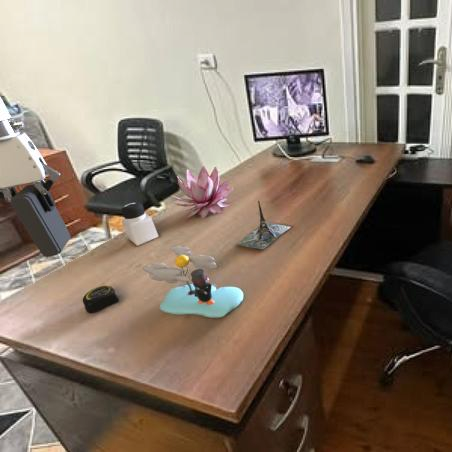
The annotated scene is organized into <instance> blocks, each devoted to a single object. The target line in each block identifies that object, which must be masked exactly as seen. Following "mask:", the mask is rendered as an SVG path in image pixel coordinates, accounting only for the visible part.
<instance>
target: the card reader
mask: <svg viewBox="0 0 452 452" xmlns="http://www.w3.org/2000/svg"><path fill="white" fill-rule="evenodd" d="M40 195H41V194H40V192H39V190H38V189H37V188H36V187H35V186H34V185H33V184H27V185H26V186H24V187H23V188H22V189H21V190H19V191H18V192H16V195H15V196H13V197H12V198H11V203H10V205H11V207H12V208H13V210H14V212H15V213H16V216H17V217H18V219H19V220H20V221H21V224H22V225H23V227H24V229H25V230H26V232H27V233H28V235H29V236H30V238H31V240H32V241H33V243H34V244H35V246H36V247H37V249H38V251H39V252H40V254H41V255H42V256H43V257H45V258H49V257H53V256H57V255H60V254H61V253H62V251H63V250H64V248H65V247H66V246H67V244H68V243H69V241H70V239H71V237H72V235H71V233H70V231H69V229H68V227H67V225H66V224H65V222H64V220H63V218H62V216H61V214H60V212H59V211H58V209H57V207H56V205H55V206H54V209H53V210H52V211H50V212H49V211H47V209H46V207H45V206H44V204H43V202H42V200H41V198H40Z"/></svg>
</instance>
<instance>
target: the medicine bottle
mask: <svg viewBox="0 0 452 452" xmlns="http://www.w3.org/2000/svg"><path fill="white" fill-rule="evenodd" d="M143 205H144V204H142V203H141V202H131V203H128V204H126V205H124V206H122V207H121V210H120V212H121V213H122V216H123V218H124V219H122V220H121V223H122V225H123V229H124V230H125V232H126V235H127V237H128V239H129V240H130V241H131V242H132V243H133V244H134V245H136V246H138V247H139V246H140V245H143V244H145V243H148V242H150V241H152V240H154V239H156V238H159V232H158V229H157V227H156V226H155V222H154V219H153V217H151V216H150V215H148V214H147V213H146V211H145V207H144V206H143Z"/></svg>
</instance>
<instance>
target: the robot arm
mask: <svg viewBox="0 0 452 452" xmlns="http://www.w3.org/2000/svg"><path fill="white" fill-rule="evenodd" d="M22 128H25V123H24V122H23V120H15V119H14V117H12V116H11V114H10V112H9V110H8V108H7V106H6V104H5V102H4V100H3V99H2V97H1V96H0V199H3V200H5V201H6V202H7V203H10V204H11V198H12V197H13V196H15V195H16V194H17V192H16V191H17V190H16V188H15V187H19V186H25V185H34V186H35V187H36V188H37V189H38V190H39V192H40V194H41V195H40V198H41V200H42V202H43V204H44V206H45V207H46V209H47V211H49V212H50V211H52V210H53V209H54V206H55V207H56V202H55V200H54V197H53V195H52V193H51V191H50V190H51V188H52V186H53V185H54V183H55V182H57V181H58V180H59V178H60V177H61V175H62V174H61V173H60V172H59V171H57V170H56V169H54V168H52V167H51V166H49V165H48V164H47V163H46V161H45V159H44V157H43V156H42V154H41V152H40V151H39V150H38V148H37V147H36V145H35V144H34V142H33V141H32V140H31V138H30V137H29V135H27V133H26V132H20V129H22ZM47 175H48V176H49V178H48V179H47V180H46V181H45V179H46V176H47Z"/></svg>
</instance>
